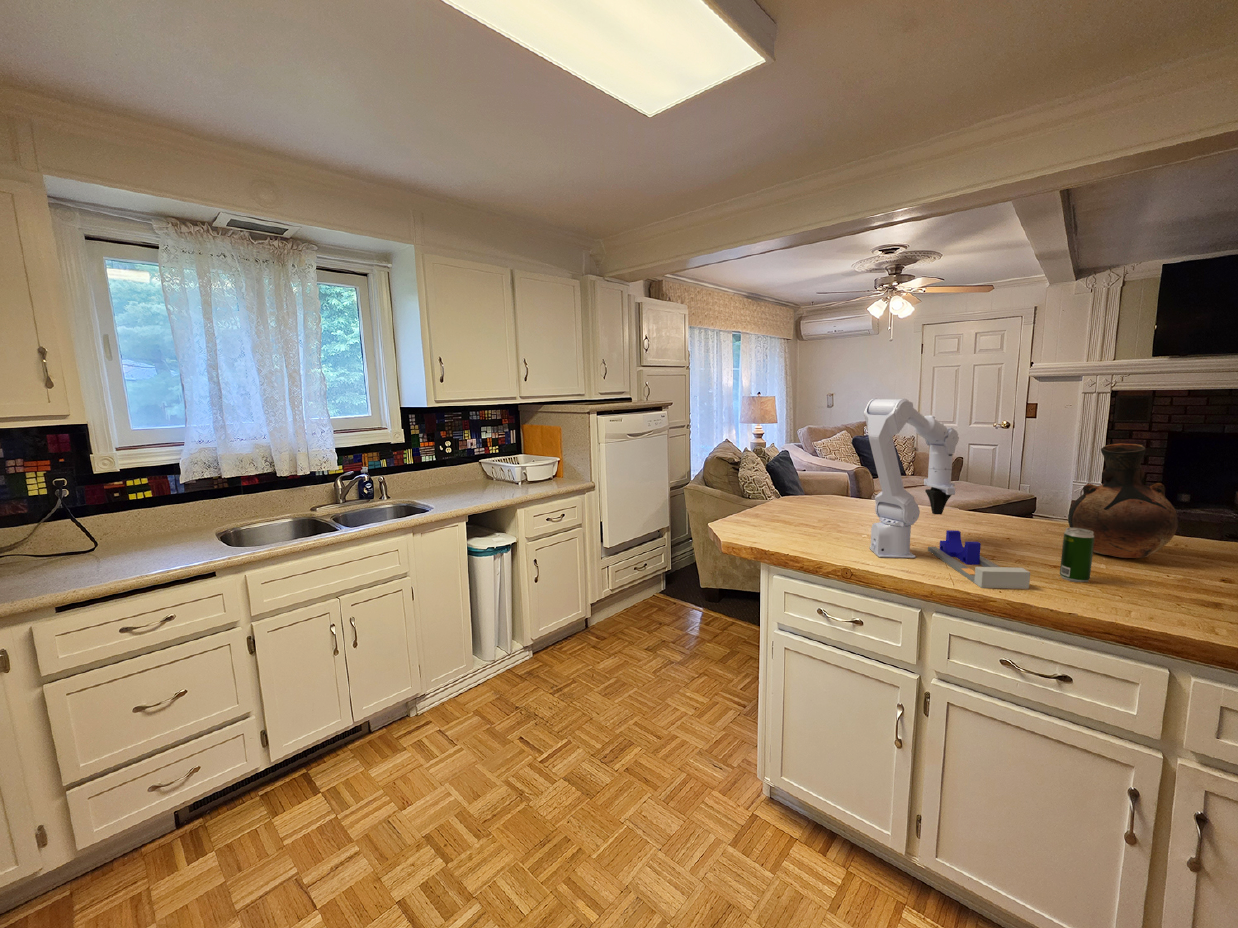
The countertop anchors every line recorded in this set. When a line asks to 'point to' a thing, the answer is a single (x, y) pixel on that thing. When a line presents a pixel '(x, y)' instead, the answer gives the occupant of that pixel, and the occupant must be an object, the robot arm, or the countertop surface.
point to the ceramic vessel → (1125, 507)
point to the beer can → (1077, 554)
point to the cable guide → (988, 572)
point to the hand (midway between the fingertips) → (937, 513)
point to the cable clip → (961, 548)
